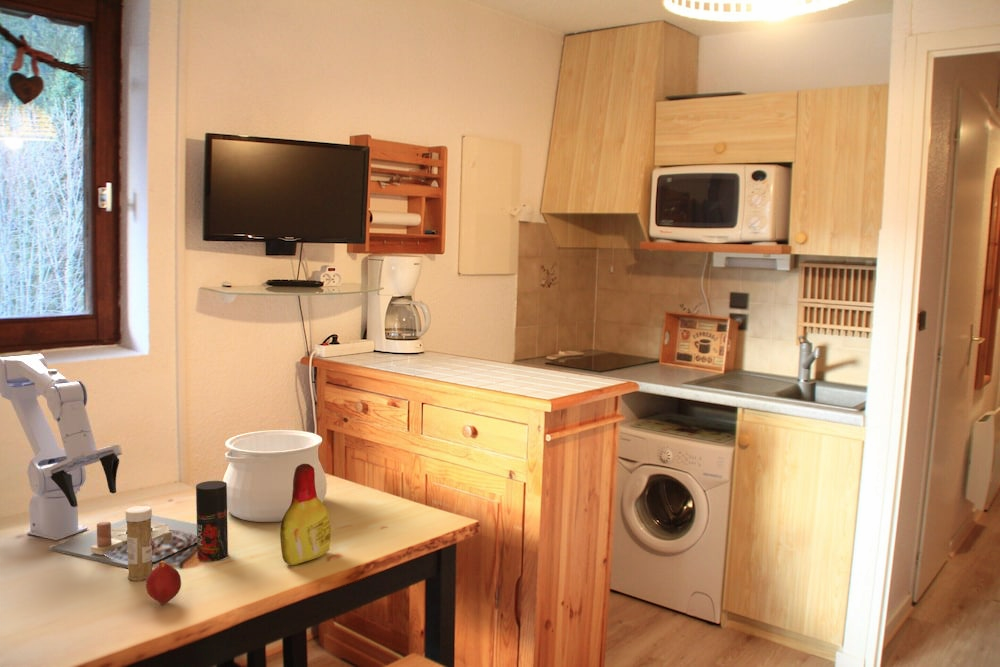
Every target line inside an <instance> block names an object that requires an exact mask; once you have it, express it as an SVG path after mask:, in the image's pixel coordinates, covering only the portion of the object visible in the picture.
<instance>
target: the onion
mask: <svg viewBox="0 0 1000 667" xmlns="http://www.w3.org/2000/svg"><path fill="white" fill-rule="evenodd" d="M181 587H182V579H181V575H180V573H179V571H178V570H177V569H176V568H175V567H173V566H172V565H170V564H168V562H166V561H165V560H160V562H159V563H158V566H156V567H154V569H153V571H152V572H151V573H150V575H149V576H148V578H147V579H146V582H145V589H146V593H147V595H148V596H149V597H150V598H151V599H153V600H154V601H156V602H158V603H159V604H160V605H167V604H168V603H169V602H170V601H172V600H173V599H174V598H175V597H176V596H177V595H178V593H179V592H180V590H181Z"/></svg>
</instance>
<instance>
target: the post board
mask: <svg viewBox="0 0 1000 667" xmlns="http://www.w3.org/2000/svg"><path fill="white" fill-rule="evenodd" d="M126 521H127V520H126V518H124V519H123V520H120V521H117V522H114V523H111V531H112V529H115V528H118V527H120V526H123V525H126V524H127V522H126ZM151 522H158V523H163V524H167V525H168V526H169V530H181V531H186V532H189V533H192V534H194V535H196V536H197V523H193V522H188V521H184V520H183V521H182V520H176V519H173V518H168V517H161V516H157V515H153V514H152V517H151ZM96 544H97V529H95V530H92V531H89V532H87V533H85V534H82V535H79V536H76V537H74V538H71V539H68V540H65V541H63V542H60V543H57V544H54V545H52V546H50V548H49V550H50V551H54V552H58V553H61V554H66V555H70V556H74V557H80V558H84V559H87V560H88V559H89V560H91V561H92V560H93V561H97V562H101V563H104V564H109V565H114V566H117V567H122V568H126V569H128V561H118V560H115V559H111V558H109V557H107V556H105V555H100V554H95V553H91V546H94V545H96Z"/></svg>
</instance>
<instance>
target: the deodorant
mask: <svg viewBox="0 0 1000 667" xmlns="http://www.w3.org/2000/svg"><path fill="white" fill-rule="evenodd" d="M195 496H196V497H195V502H196V524H197V545H196V546H197V547H196V549H197V550H196V551H197V552H196V553H197V557H196V558H197V560H198V559H199V560H198V561H200V562H205V563H213V562H218V561H223V560H224V559H227V557H228V556H229V543H228V542H229V541H228V540H229V538H228V536H229V534H228V533H229V532H228V510H227V483H226V482H223V480H209V481H202V482H199V483H198V484H196V486H195Z"/></svg>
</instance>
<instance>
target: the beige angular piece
mask: <svg viewBox="0 0 1000 667" xmlns="http://www.w3.org/2000/svg"><path fill="white" fill-rule="evenodd" d="M111 524H112V523H111V521H100V522H98V523H96V530H97V544H96V545H94V546H91V553H95V554H100V555H104V554H106V553H108V552H109V551H112V550H114V549H115V548H118V547H120V546H122V545H126V544H127V524H126V525H123V526H120V527H118V528H115V529H112V531H111ZM165 531H169V526H168V525H167V524H163V523H158V522H151V535H152V541H154V540H156V539H158V538H160V537H163V532H165Z"/></svg>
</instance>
